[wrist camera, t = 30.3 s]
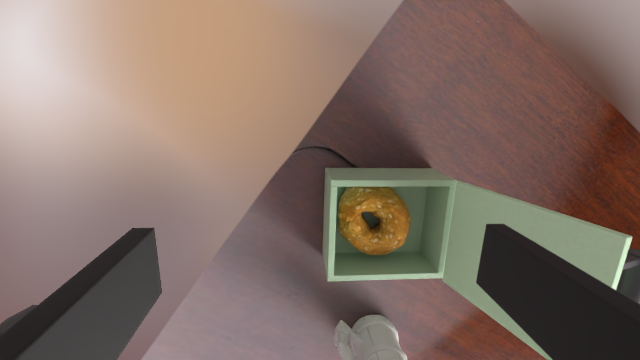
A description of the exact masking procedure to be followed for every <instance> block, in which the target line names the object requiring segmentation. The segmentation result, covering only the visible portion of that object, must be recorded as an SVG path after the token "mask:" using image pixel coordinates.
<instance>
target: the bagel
mask: <svg viewBox="0 0 640 360" xmlns="http://www.w3.org/2000/svg"><path fill="white" fill-rule="evenodd" d="M363 212H369V213H372V215H373V216H375V217H377V218H378V221H379V224H377V225H376V227H370V225H369V223H368V222H367V221H366V220H365V219H364V217H363ZM338 217H339V227H338V229H339V231H340V233H341V236H342V237H344V238H345V239H346V241H348V242H349V243H350V244H351V245H352V246H354V248H356V249H357V250H359V251H362V253H366V254H369V255H384V254H388V253H390V252H391V251H394V250H395V249H397V248H399V247H401V246H402V245H403V244H404V243H405V240H406V237H407V235H408V233H409V229H410V223H411V217H410V214H409V211H408V206H407V205H406V203H405V202H404V201H403V199H402V198H401V197H400V196H399V195H398V194H397V193H396V192H395V190H394V189H392V188H391V187H390V186H349V187H347V189H346V190H345V191H344V192H343V194H342V195H341V196H340V201H339V212H338Z"/></svg>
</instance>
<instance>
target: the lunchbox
mask: <svg viewBox="0 0 640 360" xmlns="http://www.w3.org/2000/svg"><path fill="white" fill-rule="evenodd" d="M349 186H390V187H391V188H392V189H394V190H395V192H396V193H397V194H398V195H399V196H400V197H401V198H402V199H403V201H404V202H405V203H406V205H407V206H408V211H409V214H410V217H411V223H410V229H409V233H408V235H407V237H406V240H405V243H404V244H403V245H402V246H401V247H399V248H397V249H395V250H394V251H391V252H390V253H388V254H384V255H369V254H366V253H362V251H359V250H357V249H356V248H354V246H352V245H351V244H350V243H349V242H348V241H346V239H345V238H344V237H342V236H341V233H340V231H339V229H338V227H339V217H338V212H339V201H340V196H341V195H342V194H343V192H344V191H345V190H346V189H347V187H349ZM455 186H456V180H455V179H453V178H451V177H449V176H447V175H445V174H443V173H441V172H439V171H437V170H435V169H433V168H325V188H324V222H323V261H324V266H325V271H326V276H327V281H353V280H388V279H423V278H443V272H444V265H445V258H446V251H447V244H448V237H449V230H450V223H451V216H452V209H453V202H454V195H455V188H456V187H455ZM363 217H364V219H365V220H366V221H367V222H368V223H369V225H370V227H376V225H377V224H379V221H378V218H377V217H375V216H373V215H372V213H369V212H363Z"/></svg>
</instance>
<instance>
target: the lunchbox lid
mask: <svg viewBox="0 0 640 360" xmlns="http://www.w3.org/2000/svg"><path fill="white" fill-rule="evenodd" d="M486 224H505V225H507V226H508V227H510V228H512V229H513V230H515V231H517V232H519V233H520V234H522V235H524V236H525V237H527V238H529V239H530V240H532V241H534V242H535V243H537V244H539V245H540V246H542V247H544V248H546V249H547V250H549V251H551V252H552V253H554V254H556V255H557V256H559V257H561V258H562V259H564V260H566V261H567V262H569V263H571V264H572V265H574V266H576V267H578V268H579V269H581V270H583V271H584V272H586V273H588V274H589V275H591V276H593V277H594V278H596V279H598V280H599V281H601V282H603V283H605V284H606V285H608V286H610V287H611V288H613V289H615V290H616V291H618V292H620V293H621V294H623V295H625V296H627V297H629V298H630V299H632V300H634V301H635V302H637V303H639V304H640V250H639V249H629V247H630V244H631V240H632V236H629V235H626V234H623V233H620V232H617V231H614V230H611V229H608V228H605V227H602V226H599V225H595V224H592V223H589V222H586V221H583V220H580V219H577V218H574V217H571V216H568V215H564V214H561V213H558V212H555V211H552V210H549V209H546V208H543V207H540V206H537V205H533V204H530V203H527V202H524V201H521V200H518V199H515V198H512V197H509V196H506V195H502V194H499V193H496V192H493V191H490V190H487V189H484V188H481V187H478V186H475V185H471V184H468V183H465V182H462V181H458V182H456V188H455V195H454V202H453V209H452V216H451V223H450V230H449V237H448V244H447V251H446V258H445V265H444V272H443V279H442V281H444V282H445V283H446V284H448V285H449V286H450V287H452V288H453V289H454V290H456V291H457V292H458V293H460V294H461V295H462V296H464V297H465V298H466V299H467V300H469V301H470V302H471V303H473V304H474V305H475V306H477V307H478V308H479V309H481V310H482V311H483V312H485V313H486V314H487V315H489V316H490V317H491V318H493V319H494V320H495V321H497V322H498V323H499V324H501V325H502V326H503V327H505V328H506V329H507V330H509V331H510V332H511V333H513V334H514V335H515V336H517V337H518V338H519V339H521V340H522V341H523V342H525V343H526V344H527V345H529V346H530V347H531V348H533V349H534V350H535V351H537V352H538V353H539V354H541V355H542V356H543V357H545V358H546V359H547V360H552V359H551V358H550V357H549V356H548V355H547V354H546V353H545V352H544V351H543V350H542V349H541V348H540V347H539V346H538V345H537V344H536V343H535V342H534V341H533V340H532V339H531V338H530V337H529V336H528V334H527V333H526V332H525V331H524V330H523V329H522V328H521V327H520V326H519V325H518V324H517V323H516V322H515V321H514V320H513V319H512V318H511V317H510V316H509V315H508V314H507V313H506V312H505V311H504V310H503V309H502V308H501V307H500V306H499V305H498V304H497V303H496V302H495V301H494V300H493V299H492V298H491V297H490V296H489V295H488V294H487V293H486V292H485V291H484V290H483V289H482V288H481V287H480V286H479V285H478V284H477V283H476V279H477V274H478V268H479V262H480V257H481V251H482V245H483V240H484V234H485V228H486Z"/></svg>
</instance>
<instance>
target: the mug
mask: <svg viewBox="0 0 640 360" xmlns="http://www.w3.org/2000/svg"><path fill="white" fill-rule="evenodd" d="M334 337H335V346H336V348H338V352H339V354H340V356H341V359H342V360H407V356H406V354H405V352H403V350H402V349H401V348H400V345H399V342H398V334H397V330H396V328H395V327H394V326H393V324H391V322H390V321H389V320H388V319H387V318H385V317H383V316H382V315H367V316H364V317H362V318H360V319H359V320H358V321H357V322H356V323H355V324H354V326H353V328H352V329H351V328H350V327H349V326H348V325H347V324H346V323H345V322H344V321H342V320H340V321H339V323H338V325H337V326H336V327H335V329H334ZM347 340H349V341H350V342H351V347H352V350H351V349H350V348H349V345H348V341H347ZM355 354H356V355H355ZM356 356H357V357H356Z"/></svg>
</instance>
